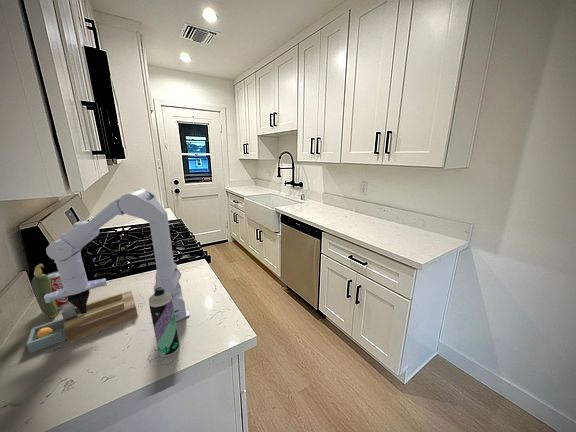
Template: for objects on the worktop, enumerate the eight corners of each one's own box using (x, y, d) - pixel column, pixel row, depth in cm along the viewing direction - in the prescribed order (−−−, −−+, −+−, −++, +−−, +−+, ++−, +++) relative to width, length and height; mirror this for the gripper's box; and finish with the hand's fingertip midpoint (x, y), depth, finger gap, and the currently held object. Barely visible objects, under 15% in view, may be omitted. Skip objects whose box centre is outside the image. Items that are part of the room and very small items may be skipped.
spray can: (156, 349, 68) (144, 288, 62) (175, 338, 71) (166, 281, 66) (162, 360, 64) (150, 297, 58) (182, 349, 68) (173, 288, 62)
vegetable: (40, 321, 79) (21, 268, 73) (49, 313, 83) (31, 262, 77) (56, 319, 80) (38, 266, 74) (64, 311, 84) (47, 260, 78)
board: (137, 316, 81) (134, 302, 79) (68, 342, 70) (63, 327, 69) (133, 299, 90) (130, 287, 88) (70, 320, 79) (66, 307, 77)
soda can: (76, 296, 92) (68, 269, 89) (68, 306, 87) (59, 277, 83) (56, 299, 90) (47, 272, 87) (47, 309, 84) (37, 280, 81)
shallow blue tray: (67, 339, 71) (65, 330, 71) (30, 353, 67) (26, 344, 66) (69, 324, 77) (67, 316, 77) (34, 336, 73) (31, 328, 72)
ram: (78, 319, 73) (74, 309, 72) (65, 324, 71) (61, 313, 70) (78, 311, 77) (75, 301, 76) (66, 315, 75) (62, 305, 74)
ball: (42, 330, 69) (32, 340, 68) (55, 333, 71) (45, 343, 70) (44, 323, 72) (34, 333, 71) (56, 327, 74) (46, 337, 73)
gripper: (102, 263, 80) (110, 297, 83) (42, 277, 71) (54, 315, 74) (103, 271, 74) (112, 307, 78) (38, 287, 65) (52, 327, 69)
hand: (84, 312), depth 76 cm, fingers closed
